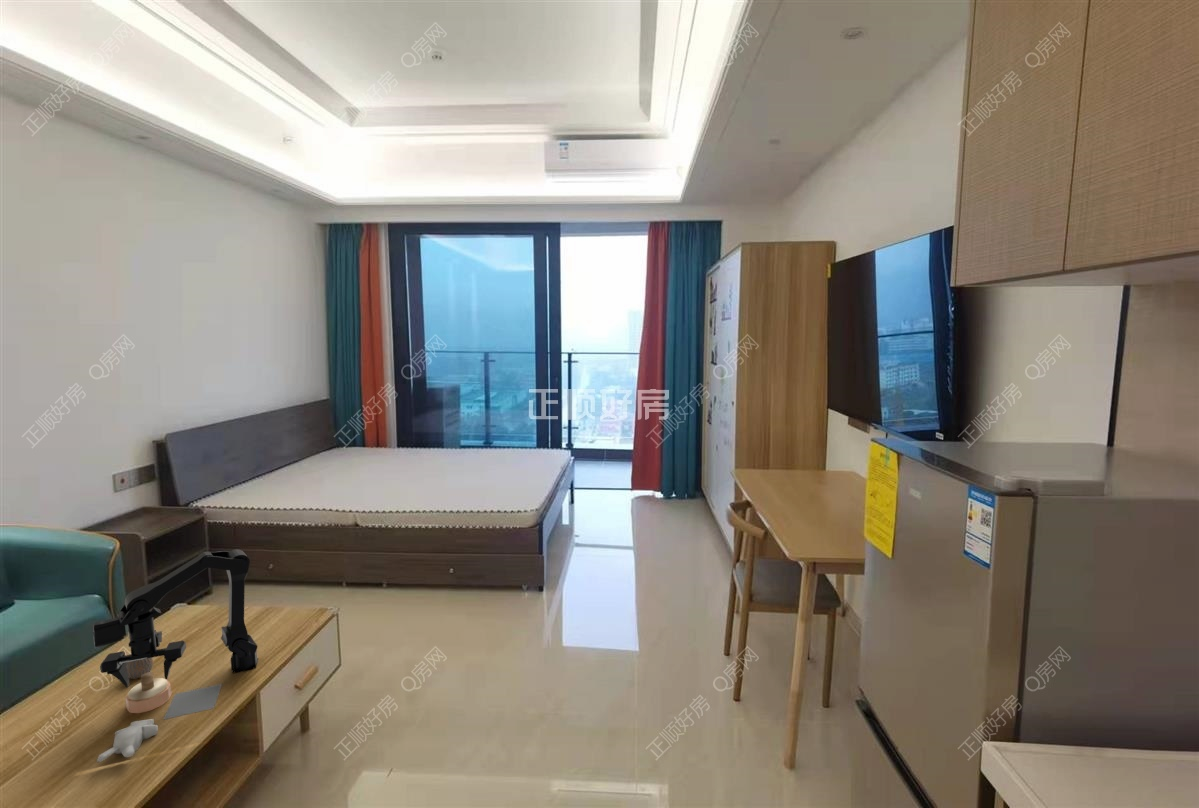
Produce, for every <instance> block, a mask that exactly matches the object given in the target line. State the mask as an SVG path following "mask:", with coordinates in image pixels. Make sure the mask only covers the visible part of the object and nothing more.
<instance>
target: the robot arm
mask: <svg viewBox="0 0 1199 808" xmlns="http://www.w3.org/2000/svg"><path fill="white" fill-rule="evenodd" d="M250 565H251V559H250V558H249V556H248V555H247V554H246V553H245V552H244V551H243V550H242V549H233V550H230V551H229V550H227V551H226V550H221V551H202V552H200V553H199V554H197V556H196V557H194V558H192V559H191V560H189V561H187V562H186V563H184V564H183V565H181V566H179V567H178V568H176V569H175V570H173V571H171V572H170V573H168V574H167V575H165V576H163V577H162V578H160V579H159V580H157V581H154V582H152V583H148V584H145V585H143V586H141V587H138V588H136V589H134V590H132V591H130V592H129V593H128V594H126V596H125V599H124V604H123V606H122V607H121V608H120V610H119V611H118V612H117V617H114V618H111V619H106V620H102V621H101V620H100V621H95V622H93V624H92V627H93V632H92V635H93V636H92V637H93V644H94V649H98V648H101V647H104V646H109V645H111V644H115V643H118V642H120V641H122V640H123V639H125V638H124V637H125V636H127V631H126V630H127V629H126V626H127V627H128V638H129V642H128V647H129V648H130V654H126V653H125V651H118V652H113V653H111V652H110V653H107V655H106V656H105V657H104V658H103V661H101V663H100V665H99V668H100V673H101V674H104V673H106V674H107V675H112V676H113V677H114V678H116V679H117V680H119V682H121V684H123V686H124V687H125V688H129V686H130V678H129V677H128V672H127V667H126V665H127V662H131V661H136V660H142V659H147V658H152V659H153V658H156V657H164V661H163V673H164V679H166V680H168V678H169V675H170V672H171V669H172V665H173V663H174V662H176V661H177V660H178V659H180V658H182V656H183V654H184V652H185V650H187V644H186V641H184V640H179V641H178V640H177V641H172V642H169V643H168V645H167V646H166V647H163V648H159V646H160V645H161V644H160V643H162V642H163V640H162V639H163V631H162V630H161V631H156V629H155V623H154V618H156V617H159V616H161V615H162V612H161V609H160V608H158V607H155V606H157V605H158V604H159V603H160V601H161V600H163V598H164V597H165V596H166V595H168V594H169V593H170V592H172V591H174V590H175V589H176V588H178V587H179V586H181V585H182V584H185V583H186V582H188V581H189V580H191V579H192V578H193V577H196V576H197V575H198V574H200V573H201V572H203V571H205V570H206V569H207V568H208V569H215V570H223V571H226V575H227V577H228V621H227V624H226V626H225V625H224V626H221V627H220V628H221V632H222V634H221V636H220V639H221V640H222V643H223V644H224V646H225V648H226V647H227V649H228V651H229V652H231V653H232V654H231V655H230V656H231V657H230V667H231V670H232V672H231V673H232V674H237V673H243V672H247V671H252V670H255V669H256V668H257V665H258V662H259V658H258V651H257V649H258V647H259V646H258V645H257V643H256V641H255V640H254V639H253V637H252V635H250V634H248V630H247V627H246V623H245V585H246V584H245V581H246V578H247V575H248V574H249V571H250ZM157 648H159V649H157ZM231 670H230V671H231Z"/></svg>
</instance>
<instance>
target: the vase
mask: <svg viewBox="0 0 1199 808" xmlns="http://www.w3.org/2000/svg"><path fill="white" fill-rule="evenodd" d="M153 666H154V659H153V657H152V658H147V659H142V660H136V661H131V662H127V665H126V667H127V672H128V677H129V679H131V680H136V679H141V676H142V675H143V674H145V673H148V672H151V671H152V669H153Z"/></svg>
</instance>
